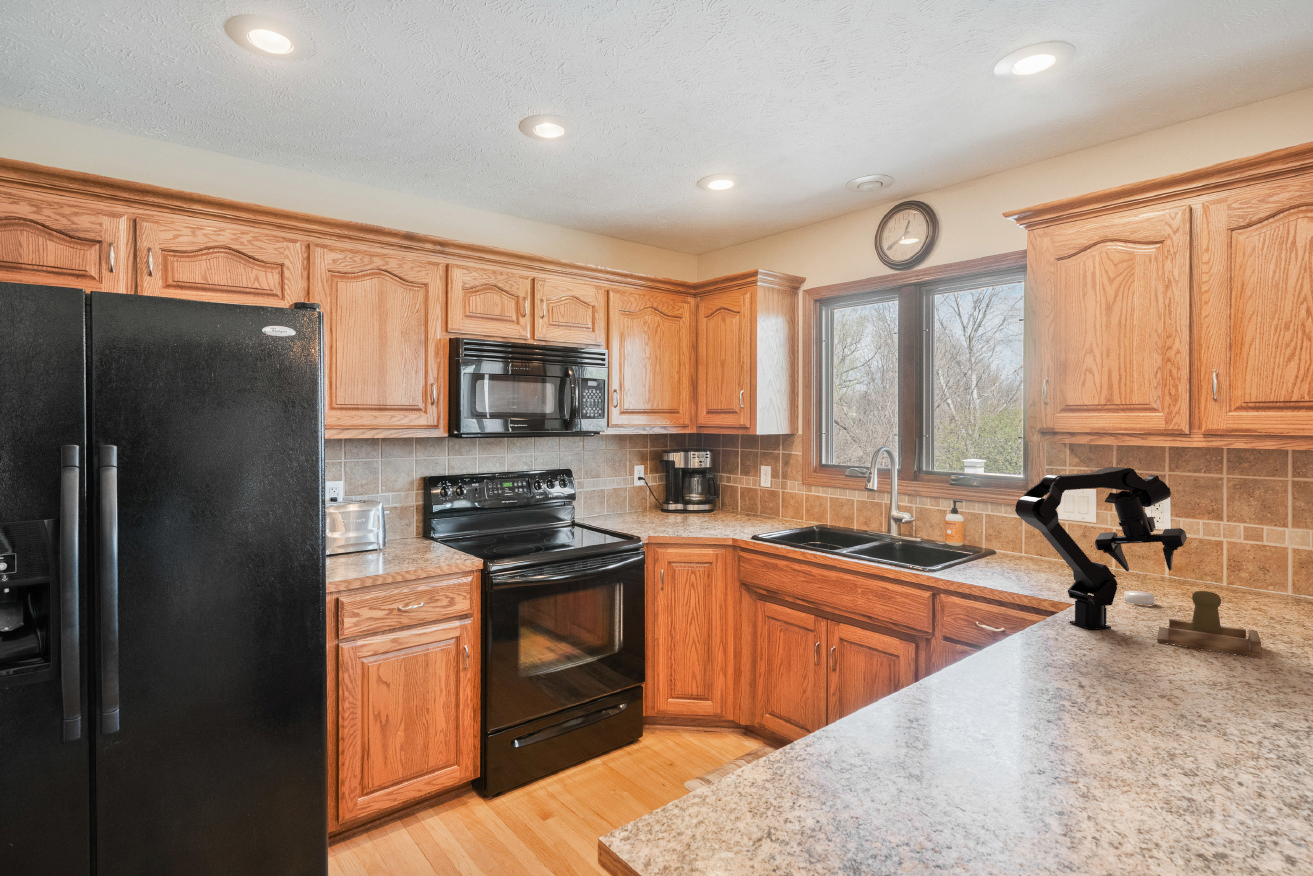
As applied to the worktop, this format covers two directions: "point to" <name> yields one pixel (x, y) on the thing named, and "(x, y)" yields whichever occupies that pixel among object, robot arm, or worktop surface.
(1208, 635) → the rack
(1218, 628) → the cork
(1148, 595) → the white rounded cylinder
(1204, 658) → the worktop surface
